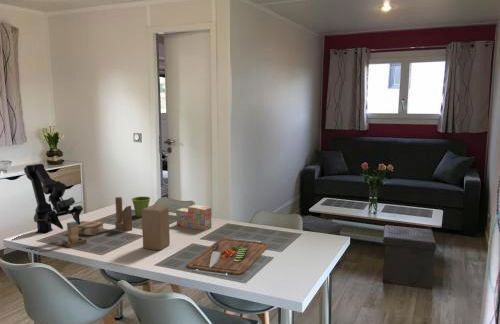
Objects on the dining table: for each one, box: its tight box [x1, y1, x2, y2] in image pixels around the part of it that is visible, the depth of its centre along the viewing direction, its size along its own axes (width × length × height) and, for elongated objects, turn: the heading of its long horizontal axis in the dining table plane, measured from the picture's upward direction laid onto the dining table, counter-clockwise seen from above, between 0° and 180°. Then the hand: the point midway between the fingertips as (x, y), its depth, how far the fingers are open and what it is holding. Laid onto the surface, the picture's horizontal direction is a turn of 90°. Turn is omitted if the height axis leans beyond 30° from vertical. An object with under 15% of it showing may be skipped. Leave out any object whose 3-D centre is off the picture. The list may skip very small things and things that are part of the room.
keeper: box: [61, 236, 87, 249], centre depth 213 cm, size 8×9×2 cm
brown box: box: [78, 220, 104, 236], centre depth 232 cm, size 14×10×4 cm
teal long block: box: [66, 220, 79, 243], centre depth 213 cm, size 4×4×11 cm
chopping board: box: [186, 237, 270, 277], centre depth 195 cm, size 45×27×3 cm, turn 161°
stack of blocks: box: [175, 204, 212, 232], centre depth 242 cm, size 21×6×12 cm, turn 58°
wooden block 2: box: [115, 196, 133, 232], centre depth 237 cm, size 4×11×18 cm, turn 54°
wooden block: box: [141, 204, 171, 251], centre depth 206 cm, size 10×10×20 cm
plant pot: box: [131, 196, 151, 218], centre depth 266 cm, size 12×12×11 cm
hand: (71, 226), depth 213 cm, fingers open, 9 cm apart
